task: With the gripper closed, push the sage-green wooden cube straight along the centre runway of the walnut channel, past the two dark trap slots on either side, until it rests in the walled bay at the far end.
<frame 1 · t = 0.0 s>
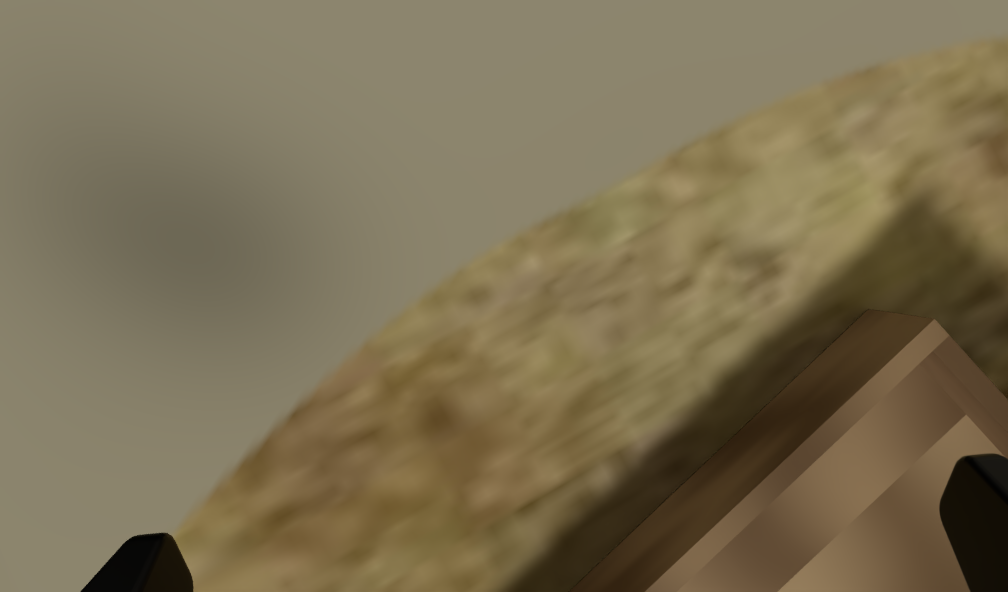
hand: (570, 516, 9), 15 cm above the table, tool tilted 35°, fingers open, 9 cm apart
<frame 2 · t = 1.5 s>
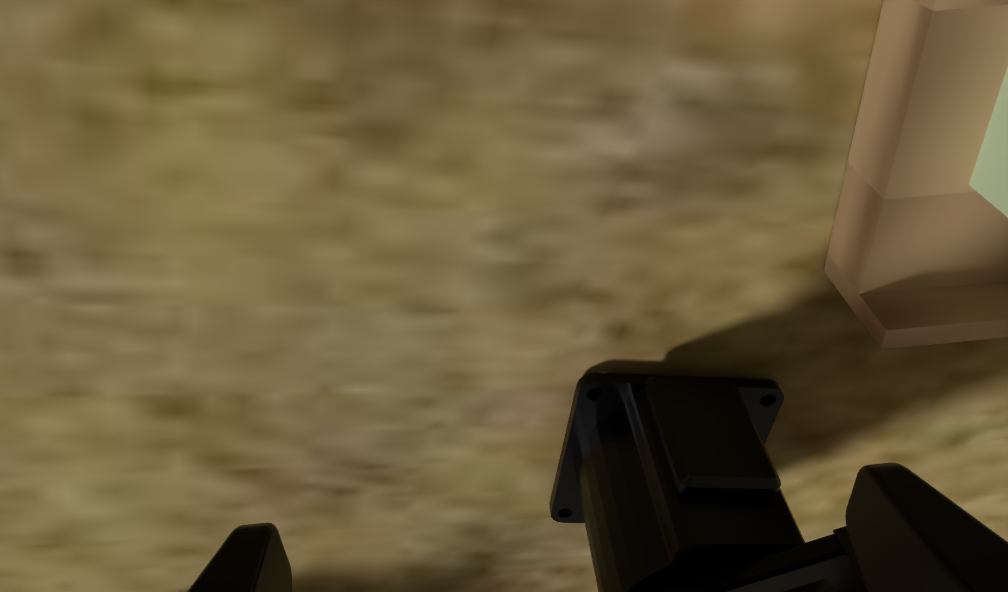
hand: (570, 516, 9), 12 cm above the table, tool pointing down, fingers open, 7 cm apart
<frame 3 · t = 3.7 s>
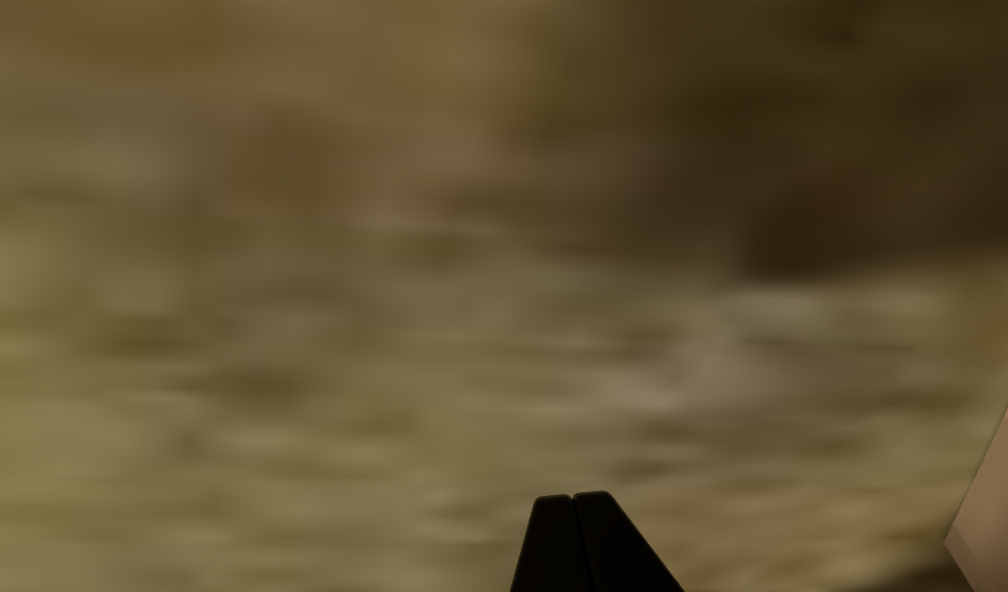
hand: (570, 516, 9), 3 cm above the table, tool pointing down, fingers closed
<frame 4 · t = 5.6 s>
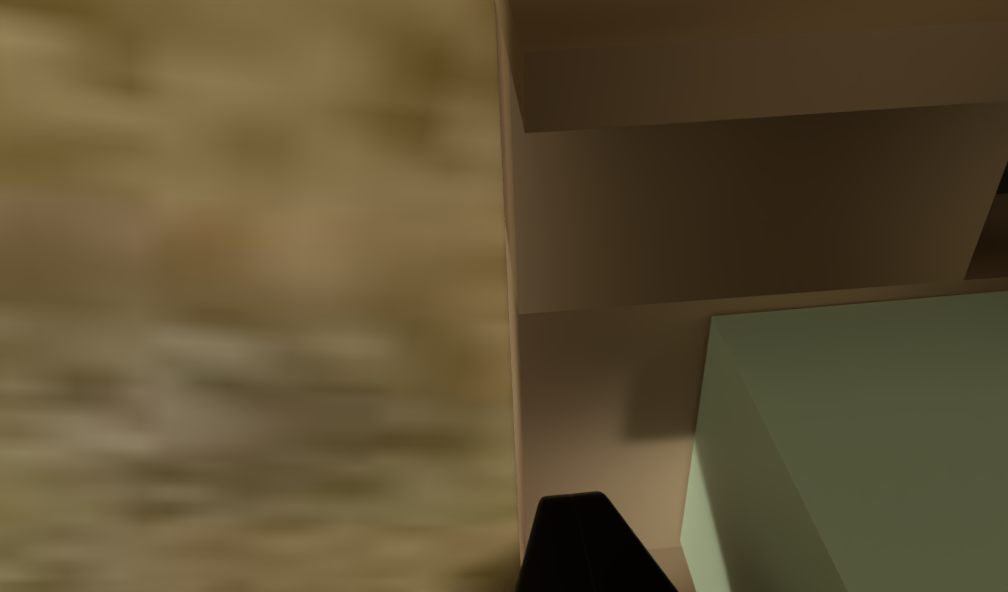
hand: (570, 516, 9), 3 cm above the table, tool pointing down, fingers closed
block: (848, 427, 10), point 2 cm above the table, touching gripper
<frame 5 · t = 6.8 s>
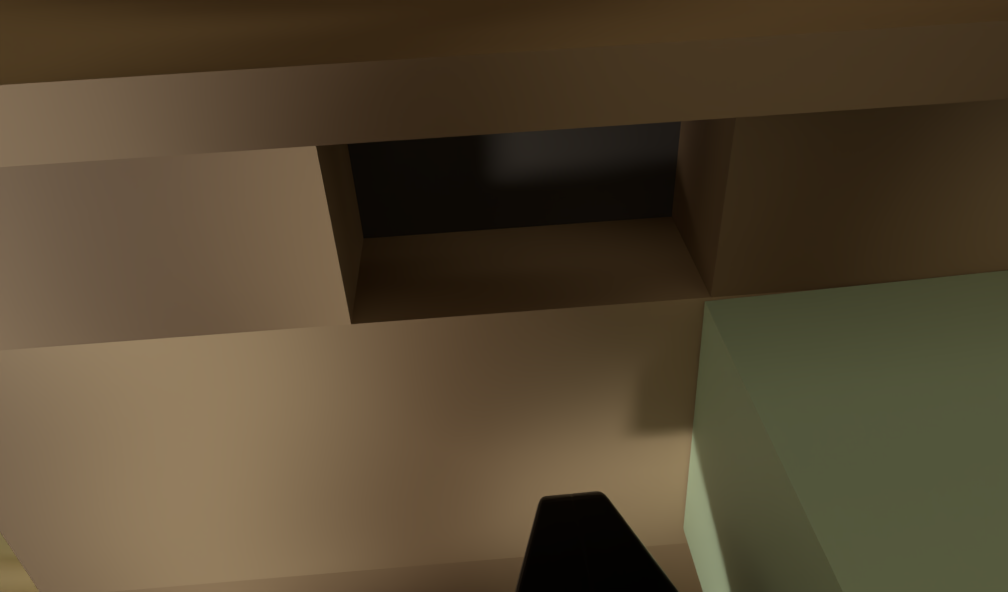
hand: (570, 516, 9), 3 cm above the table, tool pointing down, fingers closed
block: (849, 412, 10), point 2 cm above the table, touching gripper
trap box: (919, 318, 12), on the table
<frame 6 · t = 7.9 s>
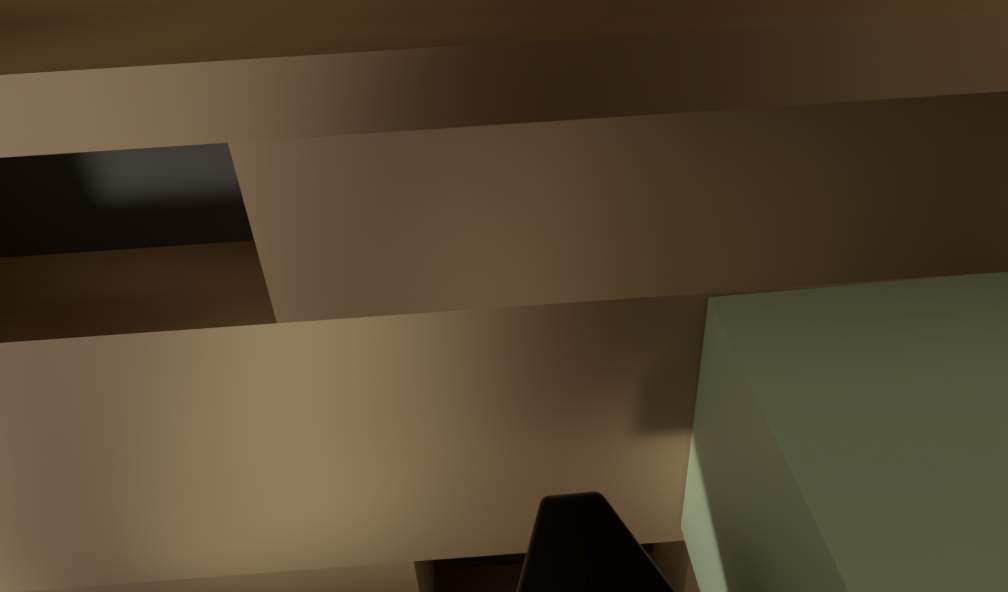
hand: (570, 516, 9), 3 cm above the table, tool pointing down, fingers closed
block: (850, 411, 10), point 2 cm above the table, touching gripper, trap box
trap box: (604, 338, 12), on the table
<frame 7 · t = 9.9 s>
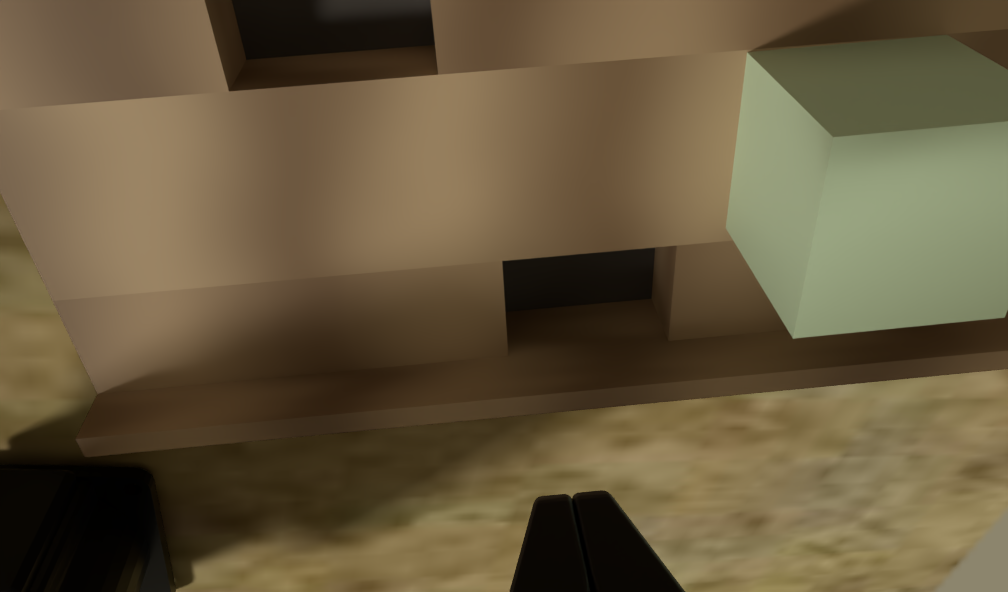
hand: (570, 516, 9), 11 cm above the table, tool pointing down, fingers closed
block: (828, 137, 17), point 2 cm above the table, touching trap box
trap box: (619, 123, 18), on the table
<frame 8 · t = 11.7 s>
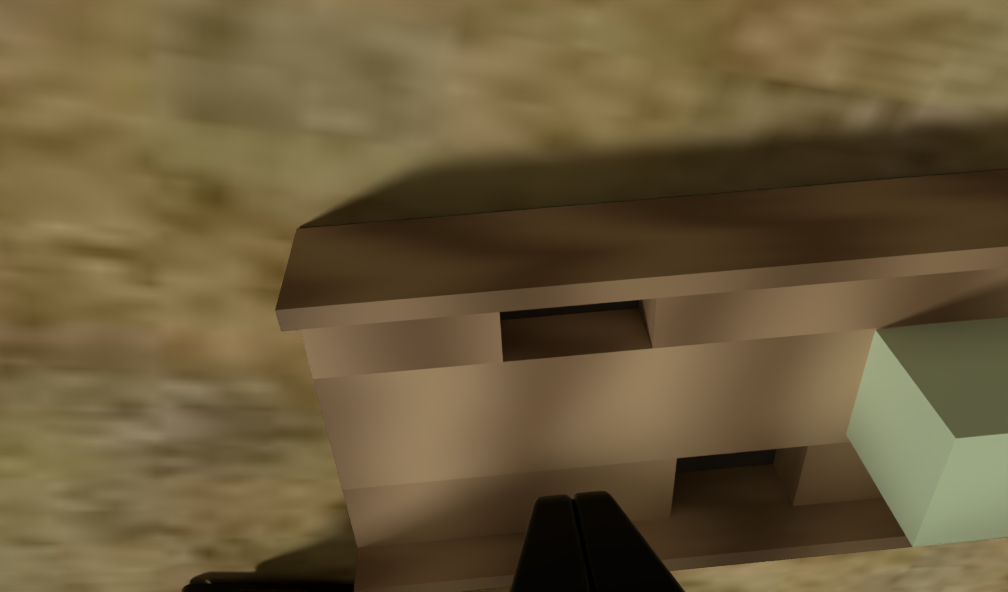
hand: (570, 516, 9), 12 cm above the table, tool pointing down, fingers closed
block: (928, 377, 22), point 2 cm above the table, touching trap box
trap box: (763, 350, 24), on the table
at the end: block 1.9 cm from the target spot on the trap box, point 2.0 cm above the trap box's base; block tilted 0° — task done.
